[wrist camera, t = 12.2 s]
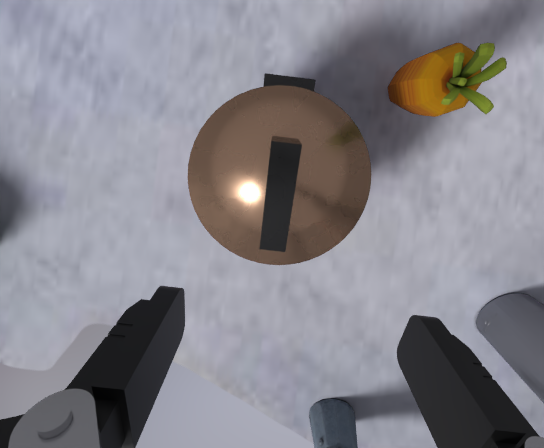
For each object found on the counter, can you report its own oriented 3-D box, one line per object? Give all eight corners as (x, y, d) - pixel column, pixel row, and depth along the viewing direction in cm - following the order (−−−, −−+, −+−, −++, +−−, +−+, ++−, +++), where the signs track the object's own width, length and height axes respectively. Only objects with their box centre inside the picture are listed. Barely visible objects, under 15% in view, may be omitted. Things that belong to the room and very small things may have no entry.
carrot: (409, 115, 30) (517, 121, 17) (366, 112, 30) (439, 116, 17) (421, 65, 28) (556, 25, 15) (375, 62, 28) (467, 19, 15)
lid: (386, 100, 21) (419, 97, 16) (342, 262, 27) (357, 297, 22) (193, 75, 20) (167, 64, 15) (194, 246, 26) (175, 277, 21)
